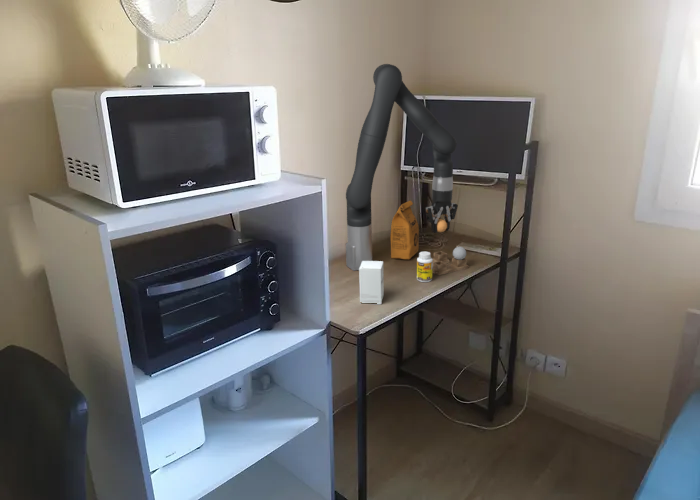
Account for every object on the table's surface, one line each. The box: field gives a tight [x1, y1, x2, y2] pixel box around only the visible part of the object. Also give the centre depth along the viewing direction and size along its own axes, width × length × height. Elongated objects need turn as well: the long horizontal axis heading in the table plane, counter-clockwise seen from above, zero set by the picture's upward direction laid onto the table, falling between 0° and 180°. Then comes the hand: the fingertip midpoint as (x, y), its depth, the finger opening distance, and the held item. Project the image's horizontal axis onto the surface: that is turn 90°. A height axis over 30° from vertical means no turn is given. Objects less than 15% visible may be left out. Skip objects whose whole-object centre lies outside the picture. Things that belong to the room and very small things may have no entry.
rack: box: [432, 257, 469, 276], centre depth 204 cm, size 14×5×4 cm, turn 117°
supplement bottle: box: [416, 251, 433, 283], centre depth 194 cm, size 6×6×10 cm
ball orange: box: [437, 218, 447, 233], centre depth 207 cm, size 5×5×5 cm
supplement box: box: [358, 260, 385, 305], centre depth 179 cm, size 7×7×13 cm
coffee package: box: [390, 200, 420, 260], centre depth 216 cm, size 10×12×22 cm
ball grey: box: [452, 246, 467, 260], centre depth 204 cm, size 5×5×5 cm
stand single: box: [431, 250, 450, 264], centre depth 212 cm, size 5×5×4 cm
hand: (440, 231), depth 208 cm, fingers closed on ball orange, 5 cm apart
